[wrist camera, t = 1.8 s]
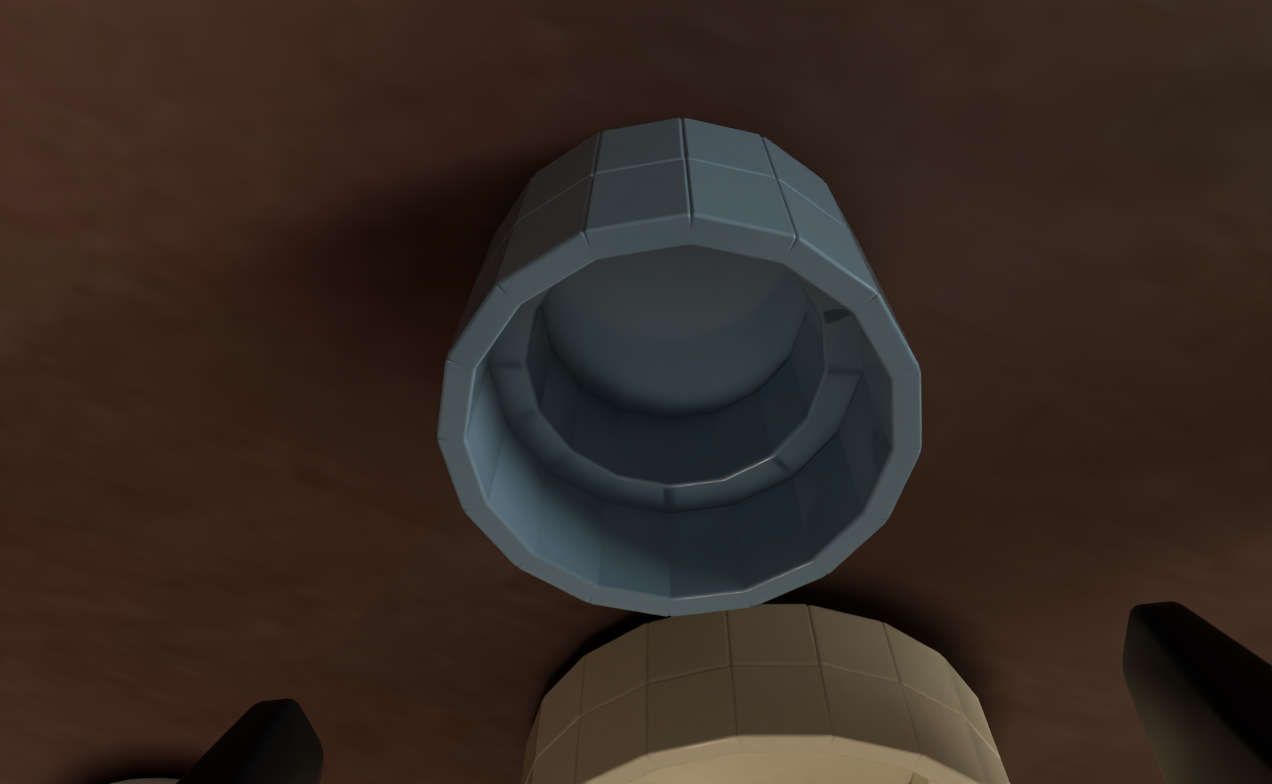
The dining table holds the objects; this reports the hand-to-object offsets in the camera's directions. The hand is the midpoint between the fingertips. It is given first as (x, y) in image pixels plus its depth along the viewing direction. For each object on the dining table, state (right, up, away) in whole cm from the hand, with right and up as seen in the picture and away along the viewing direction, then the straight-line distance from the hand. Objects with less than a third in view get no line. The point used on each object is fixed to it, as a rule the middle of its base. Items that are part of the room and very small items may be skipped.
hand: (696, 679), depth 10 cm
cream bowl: (+3, -7, +15) cm, 17 cm away
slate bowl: (0, +5, +8) cm, 9 cm away
